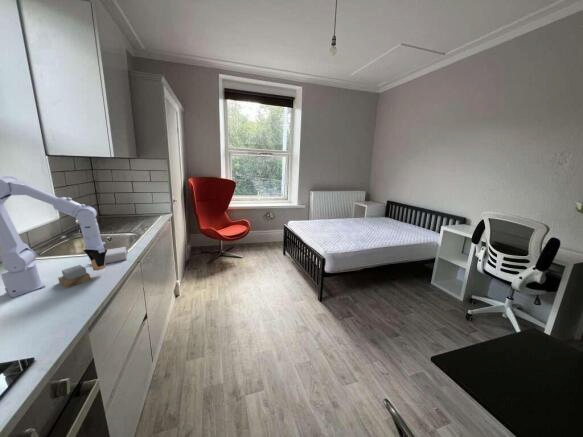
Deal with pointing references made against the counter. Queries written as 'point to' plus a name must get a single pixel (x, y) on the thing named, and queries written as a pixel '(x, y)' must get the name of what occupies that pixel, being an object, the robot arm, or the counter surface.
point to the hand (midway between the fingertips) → (98, 264)
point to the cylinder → (96, 265)
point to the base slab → (73, 280)
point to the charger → (115, 255)
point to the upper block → (74, 272)
